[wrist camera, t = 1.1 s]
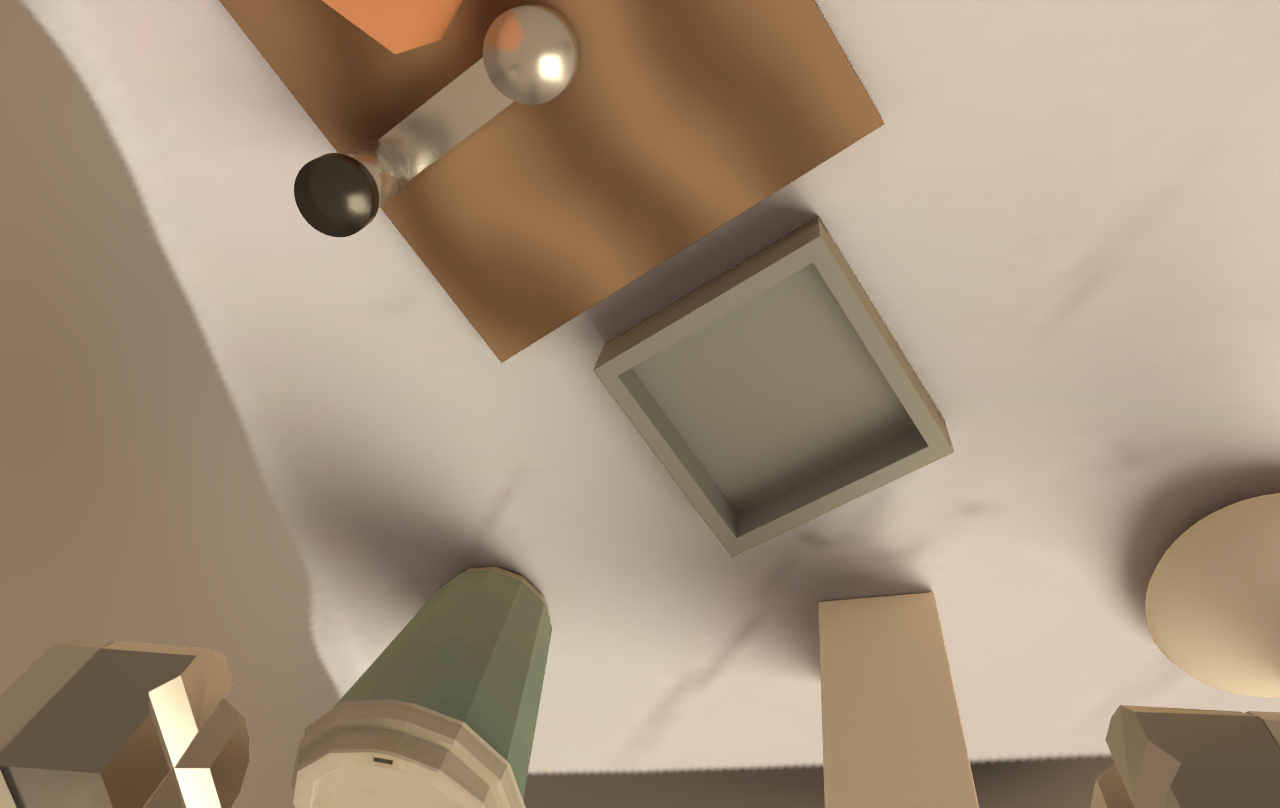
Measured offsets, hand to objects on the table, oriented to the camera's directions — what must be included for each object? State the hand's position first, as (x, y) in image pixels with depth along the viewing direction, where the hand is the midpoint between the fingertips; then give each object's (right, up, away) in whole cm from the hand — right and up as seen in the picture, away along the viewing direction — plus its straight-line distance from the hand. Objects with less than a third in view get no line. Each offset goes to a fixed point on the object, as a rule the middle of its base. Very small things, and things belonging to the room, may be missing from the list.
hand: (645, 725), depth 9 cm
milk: (+13, -10, +42) cm, 45 cm away
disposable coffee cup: (-9, -9, +45) cm, 47 cm away
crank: (-7, +15, +31) cm, 35 cm away
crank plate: (-4, +18, +31) cm, 36 cm away
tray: (+6, +4, +36) cm, 37 cm away
